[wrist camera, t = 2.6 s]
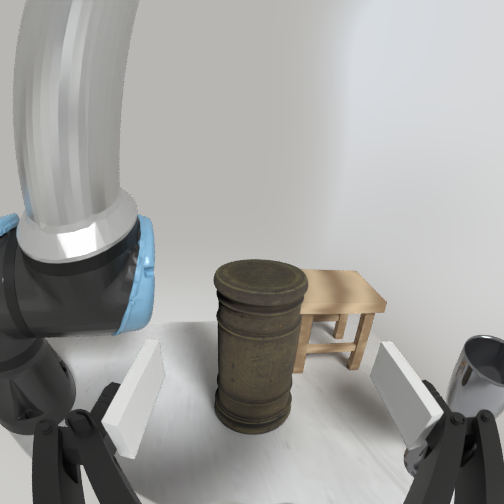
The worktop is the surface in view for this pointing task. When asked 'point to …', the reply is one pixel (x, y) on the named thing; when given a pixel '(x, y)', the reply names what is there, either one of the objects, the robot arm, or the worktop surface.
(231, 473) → the worktop surface
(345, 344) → the stool
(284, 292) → the container
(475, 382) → the wine glass
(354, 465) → the worktop surface
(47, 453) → the robot arm
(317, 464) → the worktop surface
